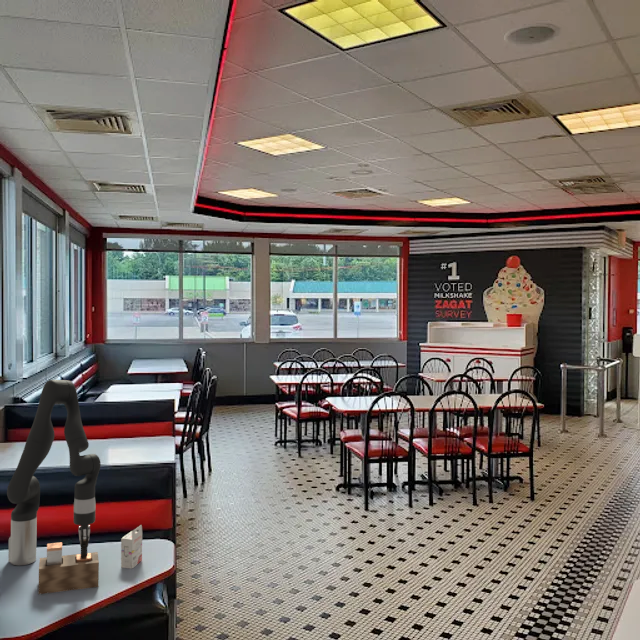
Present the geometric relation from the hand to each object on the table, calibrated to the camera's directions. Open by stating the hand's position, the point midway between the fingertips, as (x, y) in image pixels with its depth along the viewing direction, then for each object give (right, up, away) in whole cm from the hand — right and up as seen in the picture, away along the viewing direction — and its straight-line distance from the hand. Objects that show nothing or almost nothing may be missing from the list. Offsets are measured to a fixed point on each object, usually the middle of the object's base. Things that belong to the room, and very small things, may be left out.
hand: (83, 556), depth 242 cm
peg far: (0, -9, 0) cm, 9 cm away
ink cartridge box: (+12, -10, +18) cm, 24 cm away
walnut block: (-5, -10, -1) cm, 11 cm away
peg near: (-10, -4, -3) cm, 11 cm away
